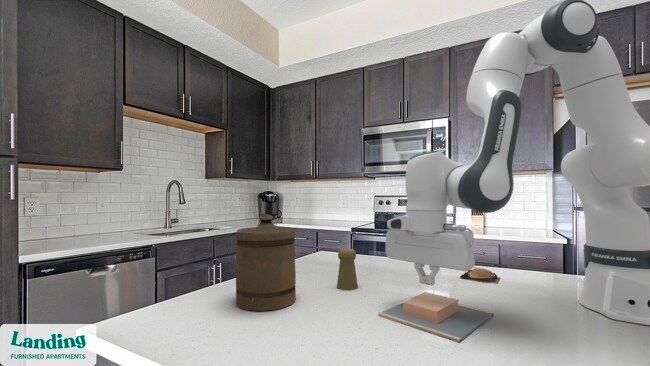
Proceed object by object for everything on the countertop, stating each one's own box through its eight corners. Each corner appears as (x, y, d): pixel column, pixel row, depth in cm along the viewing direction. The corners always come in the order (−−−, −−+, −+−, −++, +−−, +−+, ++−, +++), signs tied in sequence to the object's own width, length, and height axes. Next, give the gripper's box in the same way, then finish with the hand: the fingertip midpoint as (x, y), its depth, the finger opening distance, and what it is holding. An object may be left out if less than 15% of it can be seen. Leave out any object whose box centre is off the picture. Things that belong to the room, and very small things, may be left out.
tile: (425, 302, 78) (458, 310, 72) (403, 313, 71) (437, 323, 65) (425, 291, 78) (458, 299, 72) (403, 302, 71) (437, 311, 65)
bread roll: (501, 280, 100) (501, 268, 100) (497, 286, 93) (497, 273, 94) (464, 274, 107) (464, 263, 107) (458, 280, 100) (458, 268, 100)
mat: (493, 315, 71) (493, 312, 71) (459, 342, 58) (459, 339, 58) (419, 296, 84) (419, 294, 84) (378, 315, 71) (378, 313, 71)
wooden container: (283, 288, 91) (283, 211, 92) (304, 305, 78) (304, 214, 79) (230, 297, 84) (230, 213, 85) (244, 316, 71) (243, 217, 72)
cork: (362, 287, 91) (361, 249, 92) (345, 291, 88) (345, 251, 88) (349, 282, 96) (348, 246, 97) (332, 286, 93) (332, 248, 93)
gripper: (479, 224, 68) (480, 290, 67) (395, 219, 82) (396, 273, 82) (466, 227, 63) (468, 298, 63) (381, 221, 78) (382, 278, 77)
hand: (427, 283), depth 72 cm, fingers closed
